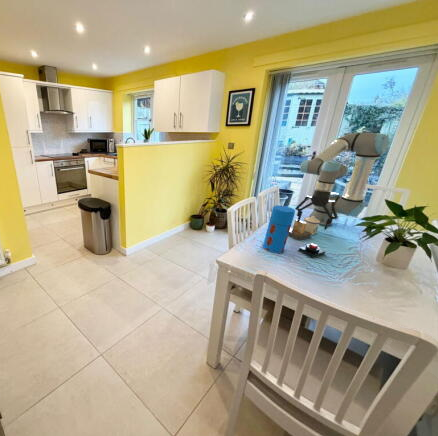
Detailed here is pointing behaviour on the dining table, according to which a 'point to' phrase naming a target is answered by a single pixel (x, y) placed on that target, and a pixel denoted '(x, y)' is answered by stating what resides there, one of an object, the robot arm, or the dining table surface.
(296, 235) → the brown flat piece
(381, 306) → the dining table surface
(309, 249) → the button box
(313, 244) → the button
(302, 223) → the tan square slab
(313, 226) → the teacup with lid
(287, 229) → the thermos
